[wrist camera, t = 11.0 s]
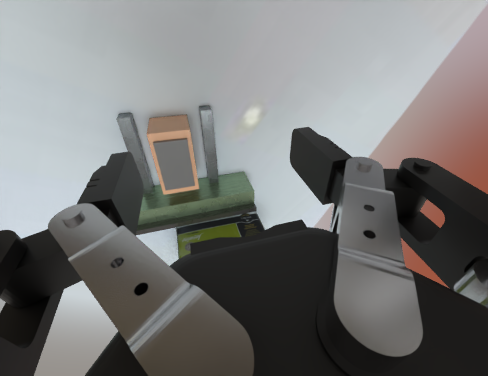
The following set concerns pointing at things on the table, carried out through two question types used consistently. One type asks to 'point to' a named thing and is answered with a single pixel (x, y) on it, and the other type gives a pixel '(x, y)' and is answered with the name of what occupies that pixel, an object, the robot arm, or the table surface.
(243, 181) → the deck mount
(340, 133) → the table surface
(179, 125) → the framed panel box
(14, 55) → the table surface
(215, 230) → the tea box
